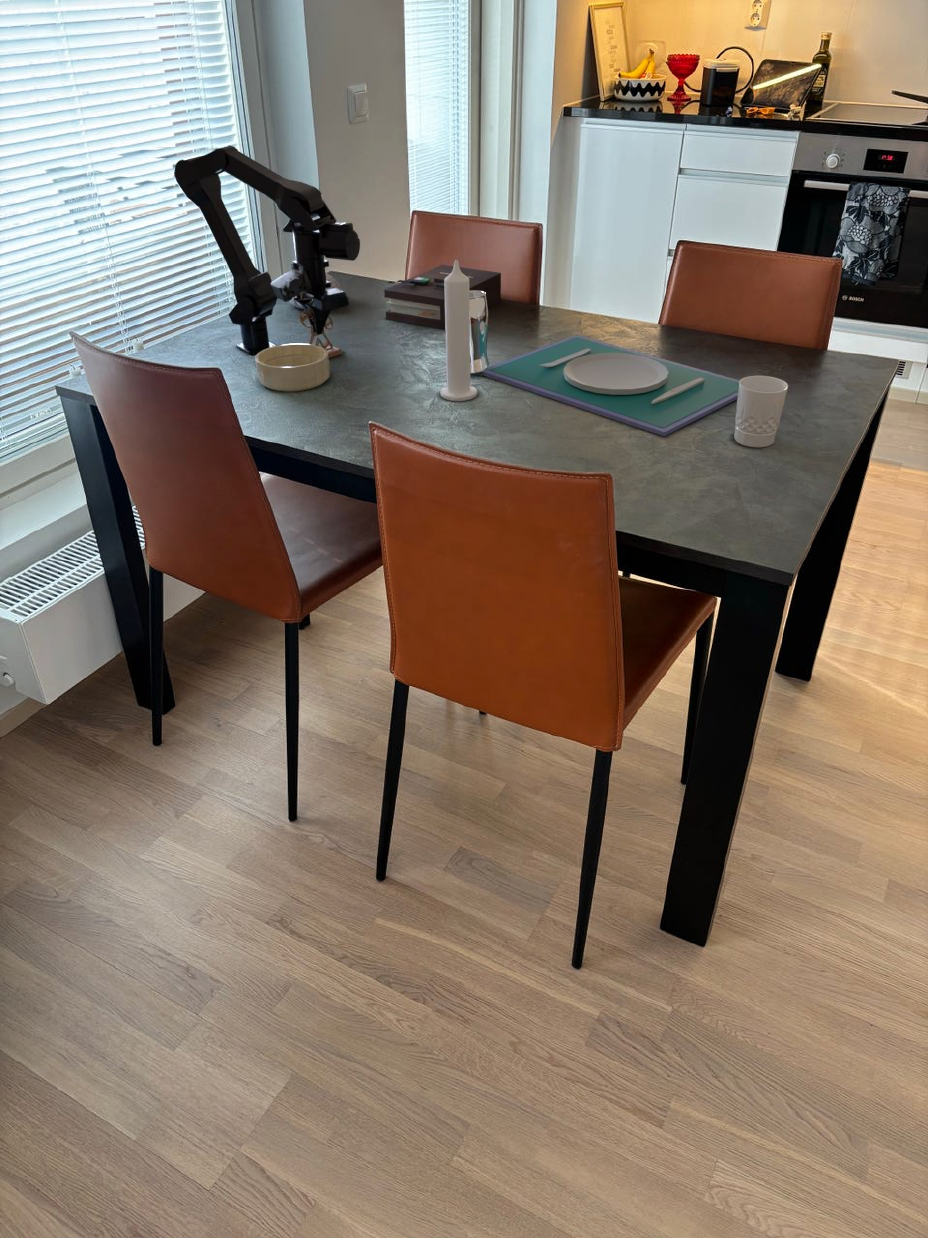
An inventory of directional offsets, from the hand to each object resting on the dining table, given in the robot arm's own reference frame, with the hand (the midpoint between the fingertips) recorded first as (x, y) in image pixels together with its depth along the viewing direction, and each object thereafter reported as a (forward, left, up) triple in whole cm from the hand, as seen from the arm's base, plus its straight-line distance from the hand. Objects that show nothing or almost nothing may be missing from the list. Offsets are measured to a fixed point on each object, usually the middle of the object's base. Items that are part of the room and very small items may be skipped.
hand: (317, 333), depth 197 cm
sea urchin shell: (-34, +18, -5) cm, 39 cm away
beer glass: (+28, +20, -5) cm, 35 cm away
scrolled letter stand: (0, 0, -5) cm, 5 cm away
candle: (+36, +10, -5) cm, 38 cm away
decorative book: (-10, +40, -5) cm, 42 cm away
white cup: (+85, +37, -5) cm, 93 cm away
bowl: (+9, -11, -5) cm, 15 cm away
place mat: (+50, +38, -5) cm, 63 cm away
